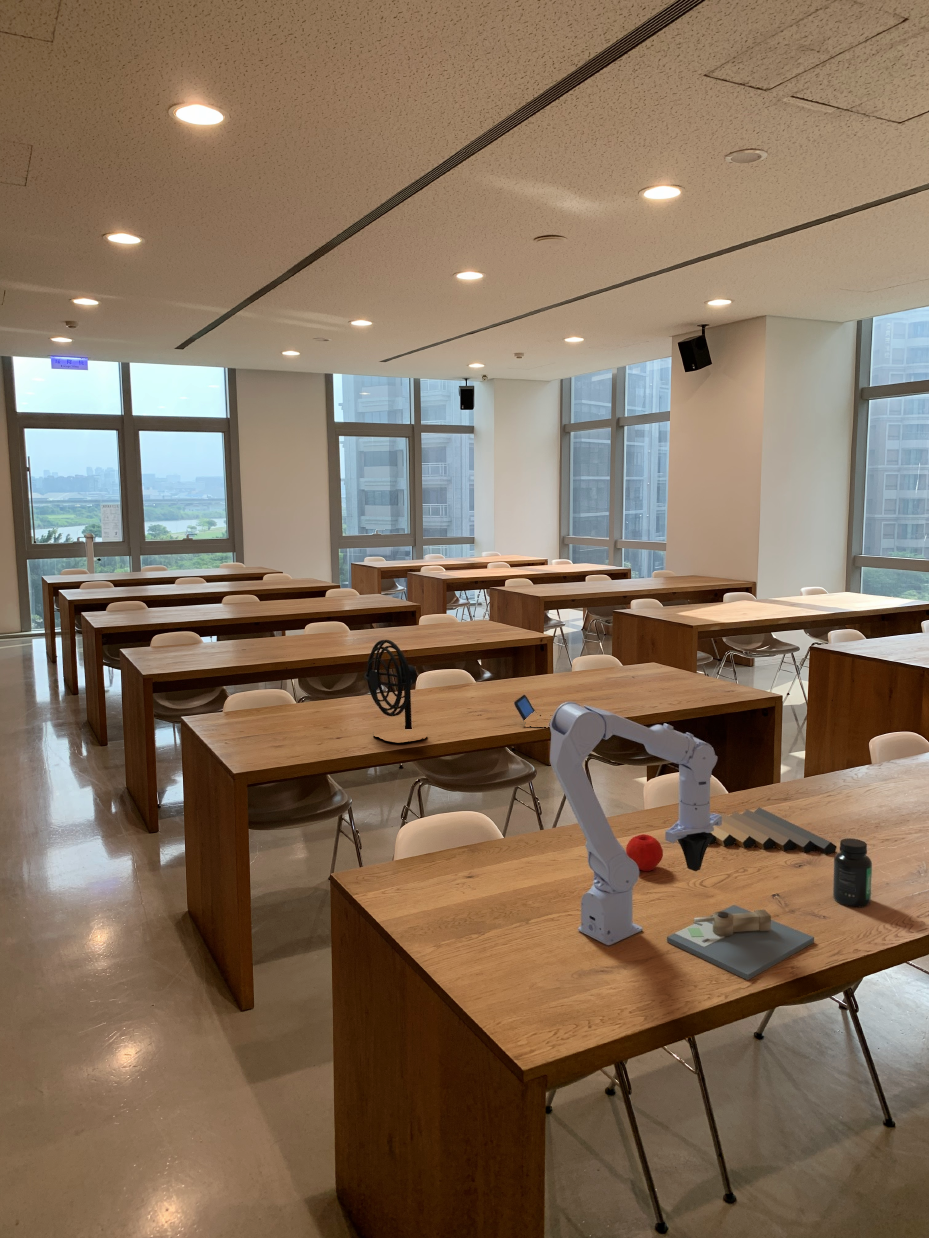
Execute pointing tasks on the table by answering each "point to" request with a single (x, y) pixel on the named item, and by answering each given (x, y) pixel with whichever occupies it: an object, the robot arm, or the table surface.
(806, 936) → the grey square board
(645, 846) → the apple
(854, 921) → the table surface
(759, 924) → the peg lever
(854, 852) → the supplement bottle
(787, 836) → the pan flute
